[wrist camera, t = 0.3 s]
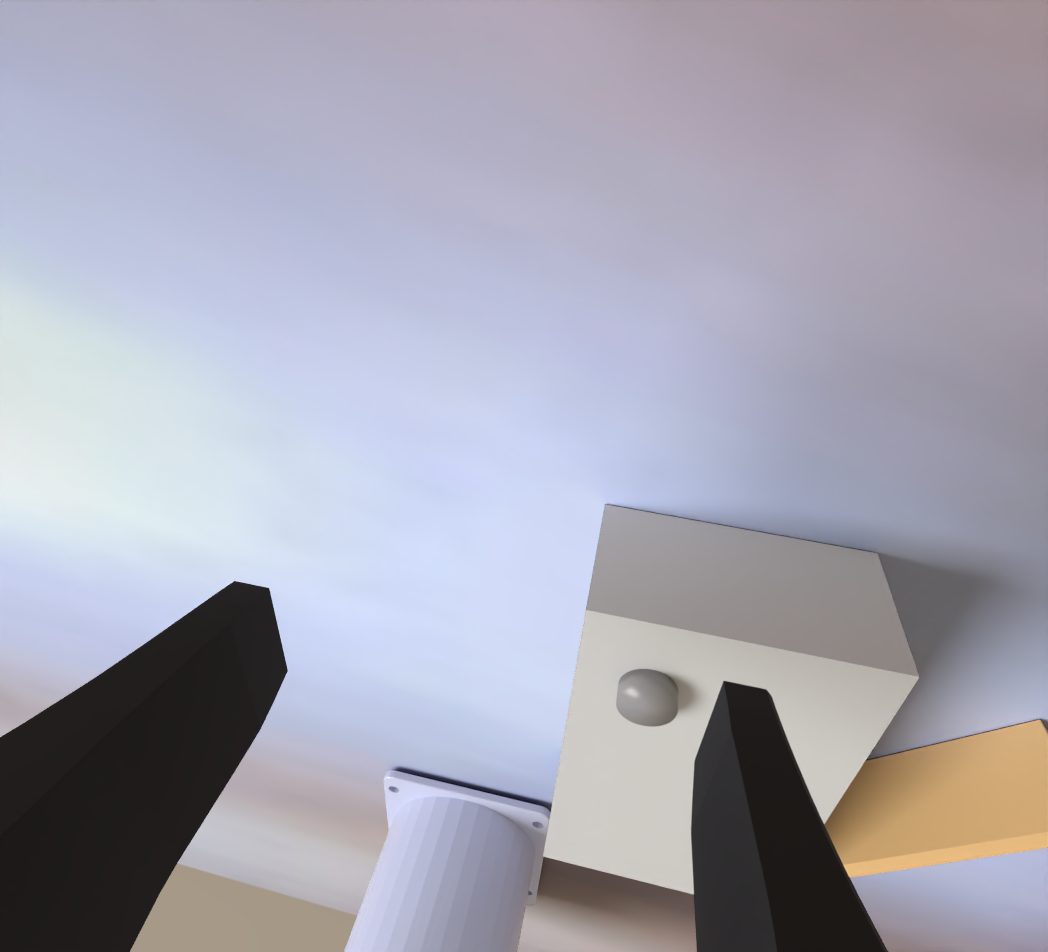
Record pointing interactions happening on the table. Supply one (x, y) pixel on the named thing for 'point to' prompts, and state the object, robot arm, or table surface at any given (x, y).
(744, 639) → the white knobbed box
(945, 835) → the side door
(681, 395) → the table surface
